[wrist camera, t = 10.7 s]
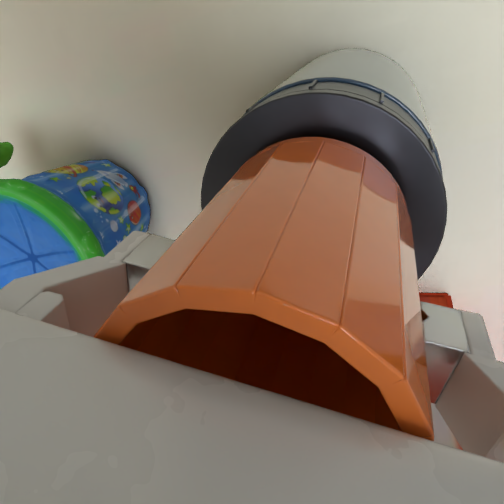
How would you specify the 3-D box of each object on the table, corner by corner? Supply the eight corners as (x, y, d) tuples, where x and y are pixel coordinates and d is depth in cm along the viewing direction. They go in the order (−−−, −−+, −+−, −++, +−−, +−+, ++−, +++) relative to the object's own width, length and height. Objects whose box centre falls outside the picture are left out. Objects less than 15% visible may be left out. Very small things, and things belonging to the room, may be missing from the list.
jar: (250, 132, 27) (166, 211, 17) (344, 11, 22) (307, 18, 12) (346, 218, 28) (322, 339, 18) (456, 121, 23) (510, 214, 13)
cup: (194, 225, 15) (47, 394, 9) (303, 91, 12) (195, 204, 5) (317, 326, 16) (268, 549, 9) (453, 229, 12) (526, 480, 6)
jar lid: (183, 198, 18) (161, 218, 16) (314, 22, 13) (303, 25, 11) (325, 317, 19) (319, 347, 18) (495, 197, 14) (509, 223, 13)
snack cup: (16, 168, 35) (-101, 220, 26) (68, 80, 29) (-60, 112, 21) (147, 291, 38) (79, 372, 30) (217, 234, 32) (158, 314, 24)
